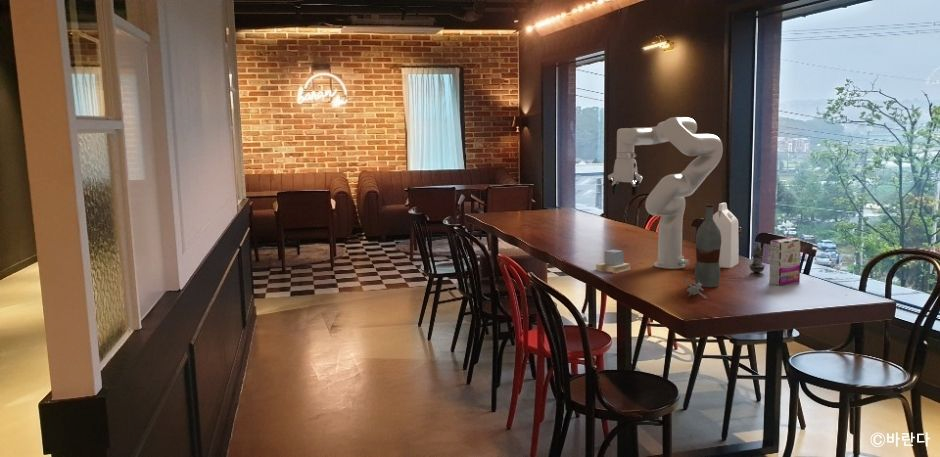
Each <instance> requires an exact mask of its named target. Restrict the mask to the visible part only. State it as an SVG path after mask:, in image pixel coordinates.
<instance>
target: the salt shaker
mask: <svg viewBox="0 0 940 457" xmlns="http://www.w3.org/2000/svg"><path fill="white" fill-rule="evenodd" d="M752 257H753V258H752V260H753V261H752V263H751V264H748V265H749V269H750V271H751V272H750V273H749V276H754V277H762V276H764V275H765V274H764V273H763V271H764V269H765V267H766V265H764V264H762V263H763V262H762V257H763V256H762V247H761V246H759V244H757V246H755V247H754V248H753V255H752Z"/></svg>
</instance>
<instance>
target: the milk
mask: <svg viewBox="0 0 940 457" xmlns="http://www.w3.org/2000/svg"><path fill="white" fill-rule="evenodd" d="M713 220H714V222H715V223H716V225H717V227H718V228H719V230H720V233H721V240H722V242H721V248H720V258H719V265H720V268H727V269H731V268H733V267H735V266H736V265H738V264H739V259H740V258H739V256H740V255H739V253H740V252H739V246H740V243H739V220H738V218H737V217H736V216H735V215H734V214H733V212H731V211H730V210H729V209H728V204H727V202H721V203H719V204H718V211H716V212H715V213H713Z"/></svg>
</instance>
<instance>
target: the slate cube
mask: <svg viewBox="0 0 940 457" xmlns="http://www.w3.org/2000/svg"><path fill="white" fill-rule="evenodd" d="M603 253H604V254H603V255H604V257H603V258H604V259H603V260H604V261H603V262H604V264H606V265H613V266H617V265H621V264H623V263H624V250H619V249H612V248H611V249H608V250H604V252H603Z"/></svg>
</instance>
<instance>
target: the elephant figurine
mask: <svg viewBox="0 0 940 457" xmlns="http://www.w3.org/2000/svg"><path fill="white" fill-rule="evenodd" d="M699 282H700V281H699ZM683 283H685V284H686V285H687V286H688V288H687V289H686V292H687V293H688V292H689V294H688V295H687V297H686V298H689V297H690V296H696V295H697V294H698V295H700V296H701V297H702V298H703V299H704V300H707V299H708V297H707V294H706V295H704V294H703V293H702V292H701V291H704V288H702V287H701V285H702V284H701V283H698V284H696V283H695V281H694V282H693V284H694V285H692V284H690V283H689V282H688V279H683Z"/></svg>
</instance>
